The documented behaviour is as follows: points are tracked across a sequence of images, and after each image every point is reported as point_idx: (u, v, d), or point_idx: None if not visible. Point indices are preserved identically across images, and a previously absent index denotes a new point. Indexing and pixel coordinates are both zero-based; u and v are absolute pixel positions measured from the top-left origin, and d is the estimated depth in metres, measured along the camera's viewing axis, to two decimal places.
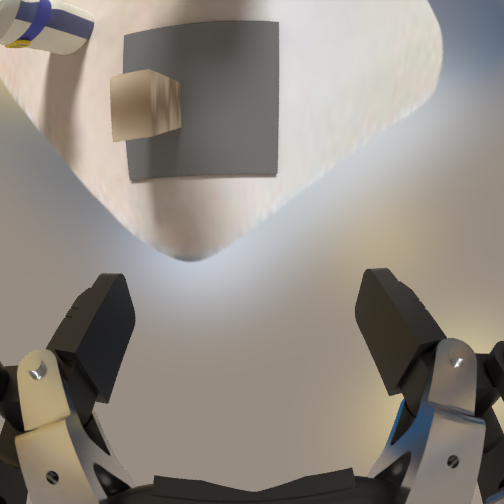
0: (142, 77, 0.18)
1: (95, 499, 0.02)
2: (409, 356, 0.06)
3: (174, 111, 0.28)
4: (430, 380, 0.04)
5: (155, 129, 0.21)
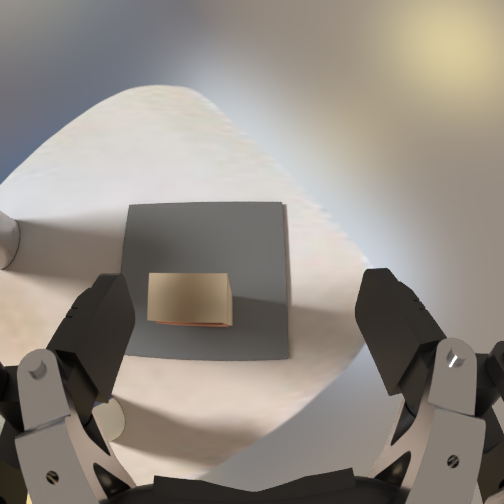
0: (157, 280, 0.20)
1: (95, 499, 0.02)
2: (409, 356, 0.06)
3: None
4: (430, 380, 0.04)
5: None
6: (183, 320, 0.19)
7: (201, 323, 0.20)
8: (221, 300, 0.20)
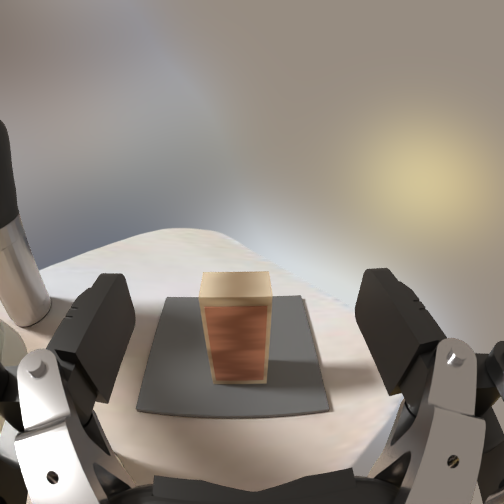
0: (210, 275, 0.25)
1: (95, 499, 0.02)
2: (409, 356, 0.06)
3: None
4: (430, 380, 0.04)
5: None
6: (233, 296, 0.22)
7: (248, 306, 0.23)
8: (266, 284, 0.24)
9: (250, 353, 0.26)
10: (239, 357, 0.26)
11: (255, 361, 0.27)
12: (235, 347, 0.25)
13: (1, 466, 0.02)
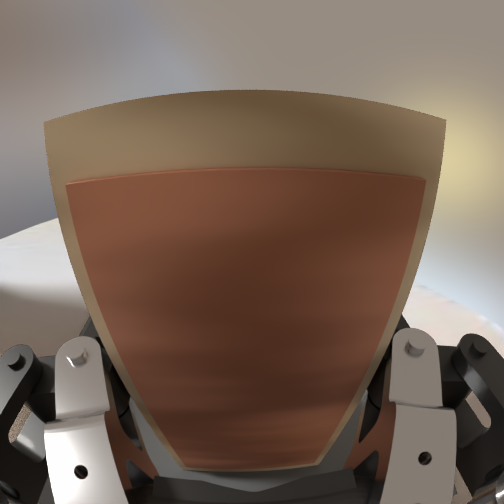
0: None
1: (125, 499, 0.02)
2: None
3: None
4: (389, 375, 0.05)
5: None
6: None
7: (327, 165, 0.03)
8: None
9: (296, 419, 0.06)
10: (254, 431, 0.07)
11: (306, 434, 0.07)
12: (240, 404, 0.06)
13: (20, 459, 0.03)
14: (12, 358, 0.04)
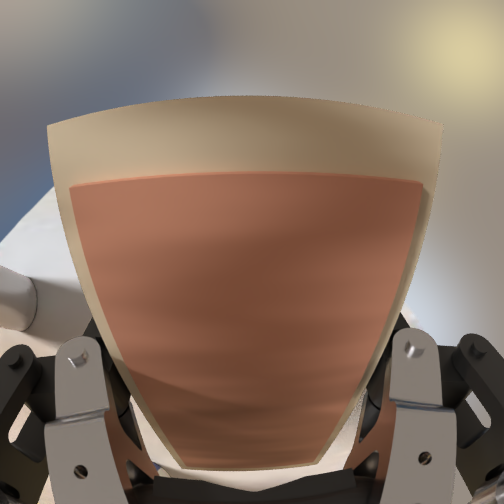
0: None
1: (124, 499, 0.02)
2: None
3: None
4: (389, 374, 0.05)
5: None
6: None
7: (326, 169, 0.03)
8: None
9: (295, 417, 0.06)
10: (253, 430, 0.07)
11: (305, 433, 0.07)
12: (240, 403, 0.06)
13: (20, 459, 0.03)
14: (12, 358, 0.04)
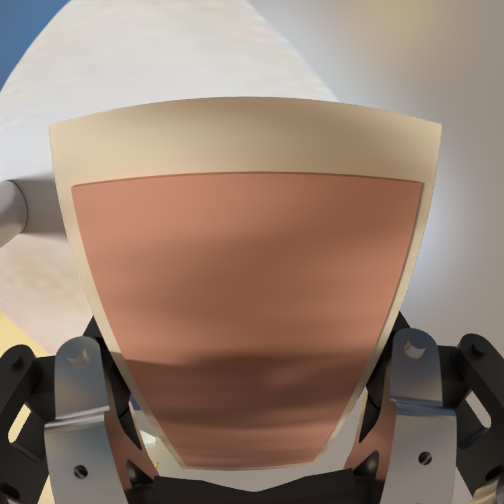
0: None
1: (125, 499, 0.02)
2: None
3: None
4: (389, 375, 0.05)
5: None
6: None
7: (325, 169, 0.04)
8: None
9: (295, 416, 0.06)
10: (254, 429, 0.07)
11: (305, 432, 0.07)
12: (240, 402, 0.06)
13: (20, 459, 0.03)
14: (12, 358, 0.04)
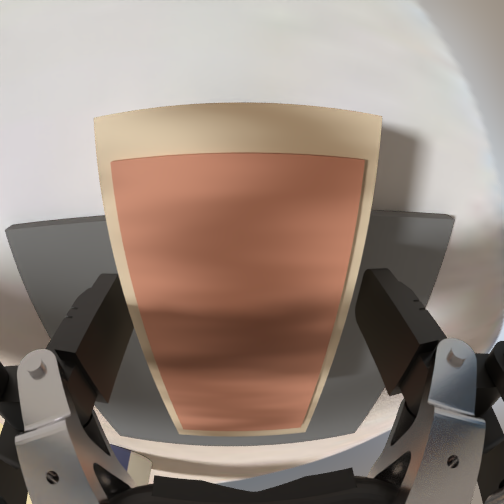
0: None
1: (95, 499, 0.02)
2: (409, 356, 0.06)
3: None
4: (430, 380, 0.04)
5: None
6: None
7: (289, 150, 0.05)
8: None
9: (279, 366, 0.08)
10: (243, 380, 0.08)
11: (290, 388, 0.09)
12: (231, 346, 0.07)
13: (1, 466, 0.02)
14: None
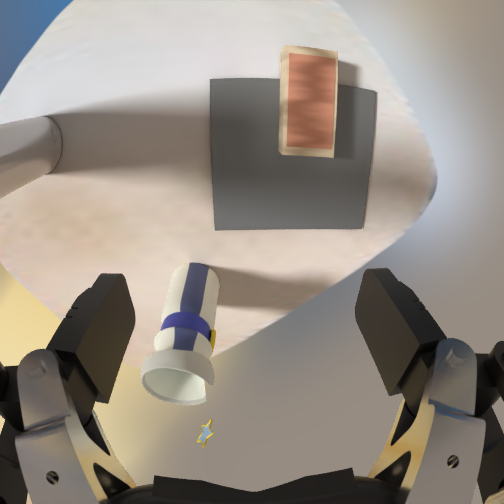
0: None
1: (95, 499, 0.02)
2: (409, 356, 0.06)
3: None
4: (430, 380, 0.04)
5: None
6: None
7: (321, 56, 0.24)
8: None
9: (321, 107, 0.27)
10: (312, 111, 0.27)
11: (325, 118, 0.28)
12: (309, 97, 0.26)
13: (1, 466, 0.02)
14: None
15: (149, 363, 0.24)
